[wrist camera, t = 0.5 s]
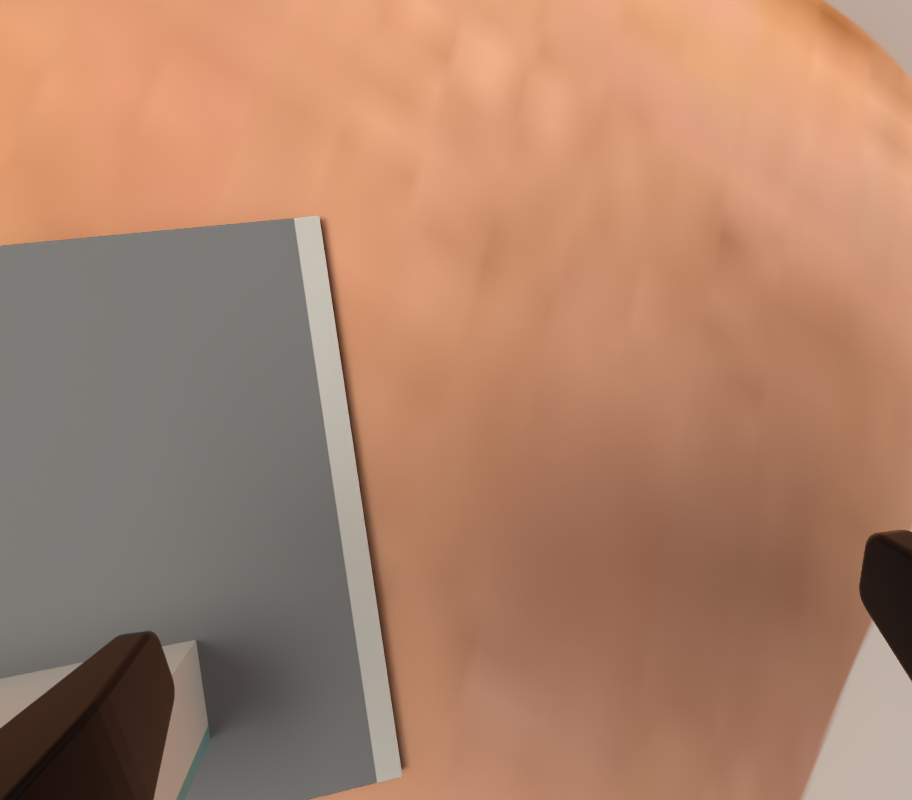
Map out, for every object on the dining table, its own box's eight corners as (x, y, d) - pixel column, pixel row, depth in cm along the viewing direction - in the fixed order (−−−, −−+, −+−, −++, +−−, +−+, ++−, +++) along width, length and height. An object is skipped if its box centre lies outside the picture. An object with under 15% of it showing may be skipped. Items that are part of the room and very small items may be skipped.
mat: (401, 769, 21) (402, 777, 21) (-337, 952, 18) (-353, 964, 17) (319, 219, 22) (319, 215, 21) (-423, 289, 18) (-441, 286, 18)
